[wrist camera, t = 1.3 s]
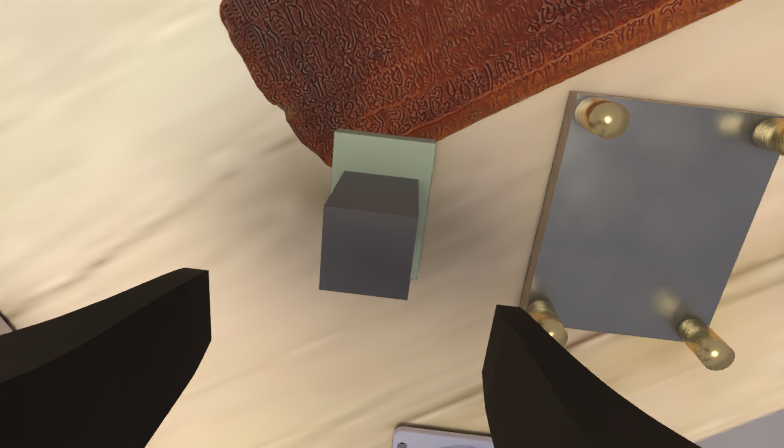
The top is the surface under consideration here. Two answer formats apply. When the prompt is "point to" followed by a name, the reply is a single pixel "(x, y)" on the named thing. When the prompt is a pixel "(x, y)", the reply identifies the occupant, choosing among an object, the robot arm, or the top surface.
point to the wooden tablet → (430, 56)
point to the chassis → (648, 218)
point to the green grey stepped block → (375, 213)
